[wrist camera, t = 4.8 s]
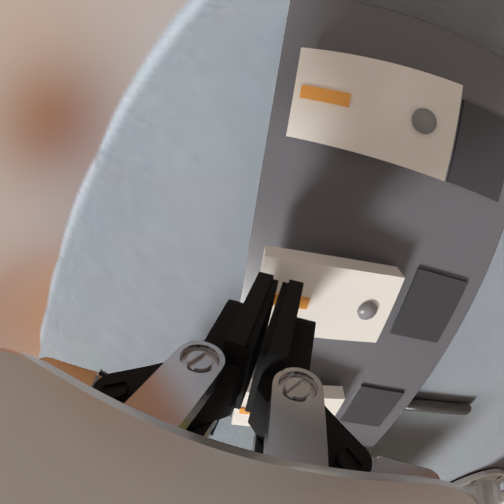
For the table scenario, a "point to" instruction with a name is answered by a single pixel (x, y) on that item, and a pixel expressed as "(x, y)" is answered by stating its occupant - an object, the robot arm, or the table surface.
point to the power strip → (387, 207)
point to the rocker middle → (337, 291)
